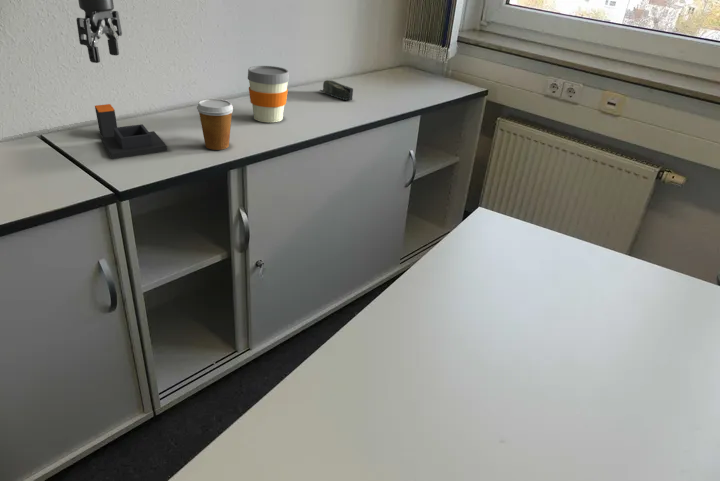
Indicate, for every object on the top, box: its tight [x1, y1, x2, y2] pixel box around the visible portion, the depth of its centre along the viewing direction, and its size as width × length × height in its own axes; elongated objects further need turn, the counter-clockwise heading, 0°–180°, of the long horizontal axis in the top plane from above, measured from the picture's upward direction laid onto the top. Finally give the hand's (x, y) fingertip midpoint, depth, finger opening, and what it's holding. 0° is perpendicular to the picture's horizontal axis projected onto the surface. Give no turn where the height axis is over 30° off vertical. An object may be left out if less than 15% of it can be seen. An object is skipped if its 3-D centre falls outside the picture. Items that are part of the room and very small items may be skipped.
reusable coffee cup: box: [247, 65, 290, 123], centre depth 169 cm, size 13×13×15 cm
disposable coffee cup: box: [196, 98, 235, 151], centre depth 147 cm, size 10×10×12 cm
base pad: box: [100, 123, 168, 160], centre depth 144 cm, size 14×12×4 cm
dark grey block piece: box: [319, 79, 354, 102], centre depth 197 cm, size 5×3×15 cm
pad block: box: [94, 103, 118, 138], centre depth 149 cm, size 4×5×8 cm
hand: (105, 58), depth 135 cm, fingers open, 8 cm apart
